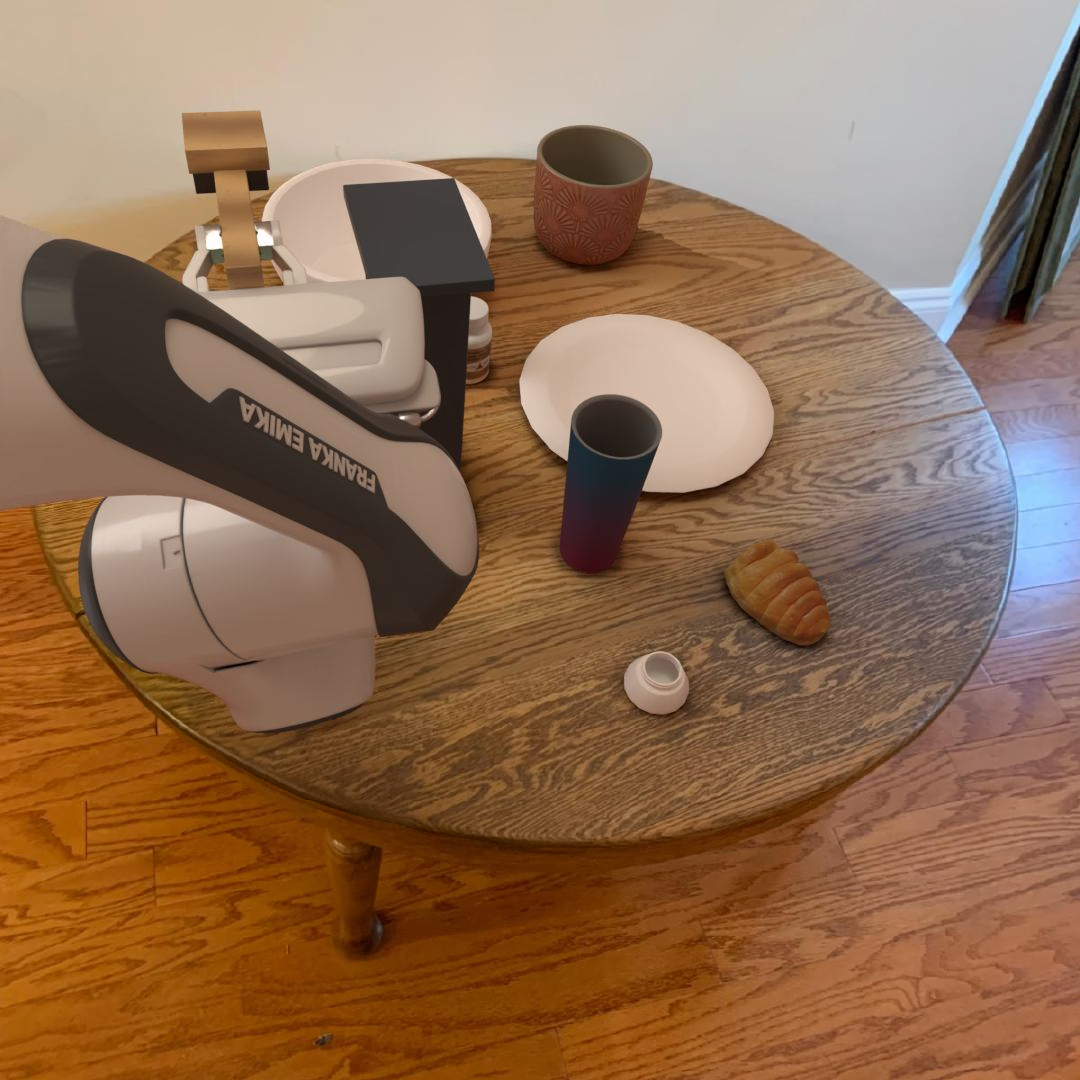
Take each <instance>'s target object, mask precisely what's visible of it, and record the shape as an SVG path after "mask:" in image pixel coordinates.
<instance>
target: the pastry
mask: <svg viewBox="0 0 1080 1080" xmlns="http://www.w3.org/2000/svg"><path fill="white" fill-rule="evenodd" d="M723 573H724V575H723V576H724V579H725V582H726V585H727V587H728V590H729V593H730V595H731V598H732V599H733V600H735V601H736V602H737V604H738V605H739V608H740V609H742V610H743V611H744V612H746V613H747V614H748V615H749V616H750V617H751V618H753V619H754V620H756V621H757V622H758V623H759V624H760V626H764V627H765V628H766V629H767V630H768V631H770V632H772V633H773V635H776V636H777V637H779V638H781V639H783V640H784V641H788V642H791V643H793V644H796V645H798V646H810V645H813V644H815V643H817V642H818V641H820V640H821V639H822V638H823V637H824V636H825V635H826V634H827V633H828V632H829V631H830V630H831V620H832V618H831V615H830V612H829V610H828V606H827V604H828V603H827V602H828V601H827V599H826V598H825V597H824V596H823V595H822V594H821V590H820V585H819V582H818V581H816V580H815V579H813V574H812V572H811V571H810V569H809V568H808V566H807V565H806V564H805V563H799V557H798V555H797V554H796V552H794V551H793V550H792V549H788V548H787V549H784V548H782V547H781V546H780V545H779V544H778V543H776V541H775V540H774V539H770V538H767V539H764V540H762V541H759V542H757V543H754V544H752V545H751V546H749V547H748V548H747V549H746V550H745V551H743V552H741V553H740V554H739V555H738V556H737V557H736V558H735V559H734V560H733V561H732V562H731V563H729V565H728V567H726V569H725V570H724V572H723Z"/></svg>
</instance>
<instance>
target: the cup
mask: <svg viewBox="0 0 1080 1080" xmlns="http://www.w3.org/2000/svg"><path fill="white" fill-rule="evenodd" d="M661 438H662V427H661V423H660V421H659V419H658V417H657V416H656V414H655V413H654V412H653V411H652V410H651V409H650V408H649V407H648V406H646V405H645V404H643V403H641V402H640V401H638V400H635V399H633V398H630V397H627V396H623V395H616V394H605V395H598V396H594V397H591V398H589V399H587V400H585V401H583V402H582V403H581V404H579V405H578V406H577V408H576V409H575V410H574V412H573V415H572V419H571V428H570V439H569V450H568V460H567V462H566V472H565V483H564V494H563V505H562V516H561V526H560V535H559V537H560V538H559V548H558V549H559V554H560V557H561V559H562V560H563V562H564V563H565V564H566V565H568V567H570V568H571V569H573V570H575V571H576V572H580V573H583V574H589V575H593V574H594V575H595V574H600V573H604V572H606V571H607V570H609V569H611V567H613V566H614V564H615V562H616V561H617V558H618V555H619V553H620V551H621V547H622V545H623V543H624V540H625V537H626V534H627V532H628V530H629V527H630V524H631V521H632V518H633V515H634V512H635V510H636V508H637V505H638V502H639V499H640V496H641V495H642V493H643V492H642V489H643V486H644V484H645V481H646V478H647V476H648V473H649V470H650V468H651V465H652V462H653V460H654V457H655V454H656V452H657V449H658V446H659V443H660V441H661Z"/></svg>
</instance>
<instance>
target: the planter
mask: <svg viewBox="0 0 1080 1080" xmlns="http://www.w3.org/2000/svg"><path fill="white" fill-rule="evenodd" d="M535 162H536V163H535V173H534V174H535V175H534V190H533V191H534V192H533V225H534V232H535V234H536V237H537V240H538V241H539V242H540V244H541V245H542V246H543V248H545V250H547V252H549V253H550V254H551V255H553V256H555V257H556V258H559V259H561V260H563V261H565V262H569V263H572V264H576V265H577V264H578V265H583V266H584V265H586V266H590V265H591V266H592V265H593V266H594V265H603V264H605V263H609V262H611V261H614V260H616V259H618V258H619V257H621V256H622V255H623V254H624V253H625V252H626V251H627V250H628V248H629V247H630V246H631V243H632V241H633V240H634V237H635V235H636V231H637V228H638V226H639V222H640V219H641V216H642V211H643V208H644V204H645V200H646V195H647V191H648V187H649V183H650V179H651V175H652V171H653V166H654V161H653V157H652V155H651V153H650V151H649V150H648V148H646V146H644V144H642V143H641V142H640V141H638V139H636V138H634V137H633V136H632V135H629V134H626V133H625V132H622V131H619V130H616V129H613V128H610V127H605V126H600V125H593V124H592V125H591V124H577V125H568V126H567V125H566V126H563V127H560V128H556V129H553V130H552V131H550V132H547V134H545V135H544V136H543V137H542V138H541V139H540V141H539V142H538V144H537V149H536V161H535Z"/></svg>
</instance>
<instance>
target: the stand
mask: <svg viewBox="0 0 1080 1080" xmlns="http://www.w3.org/2000/svg"><path fill="white" fill-rule="evenodd" d="M455 179H456V178H454V177H453V178H446V179H430V180H414V181H398V182H381V183H365V184H349V185H343V193H344V200H345V203H346V207H347V210H348V214H349V218H350V221H351V225H352V228H353V232H354V235H355V239H356V243H357V246H358V250H359V253H360V257H361V260H362V264H363V267H364V271H365V277H366V279H376V278H389V277H405V278H407V279H408V280H409V281H410V282H411V283H412V284H413V285H414V286H416V287H417V288H418V289H419V291H420V294H421V300H422V308H423V319H424V341H425V348H424V359H425V360H427V361H428V362H429V363H430V364H431V365H432V366H433V368H434V369H435V371H436V374H437V377H438V383H439V388H440V394H441V402H440V406H439V408H438V410H437V412H436V413H435V415H434V416H433V417H431V418H430V419H429V420H427V421H425V422H422V423H421V427H420V428H419V429H421V430H422V431H423V432H425V433H426V434H428V435H429V436H431V437H432V438H433V439H435V440H436V441H437V442H438V443H440V444H441V445H442V446H443V447H444V448H445V449H446V450H447V452H448V453H449V454H450V456H451V457H452V458H453V460H454V462H455V463H456V465H457V467H458V469H459V471H460V473H461V472H462V459H463V458H462V457H463V440H464V439H463V438H464V424H465V423H464V421H465V408H466V407H465V405H466V388H467V387H466V385H467V384H466V372H467V355H468V338H469V321H470V304H471V296H472V294H478V293H479V294H480V293H489V292H490V293H491V292H495V286H496V278H495V276H494V273H493V271H492V268H491V265H490V263H489V261H488V258H486V255H485V253H484V250H483V248H482V246H481V243H480V241H479V238H478V236H477V233H476V231H475V228H474V226H473V223H472V221H471V218H470V216H469V214H468V211H467V209H466V206H465V204H464V201H463V199H462V196H461V194H460V191H459V189H458V186H457V184H456V181H455ZM427 412H428V411H427ZM427 412H419V414H420V416H422V415H424V414H426V413H427ZM461 474H462V473H461Z"/></svg>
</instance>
